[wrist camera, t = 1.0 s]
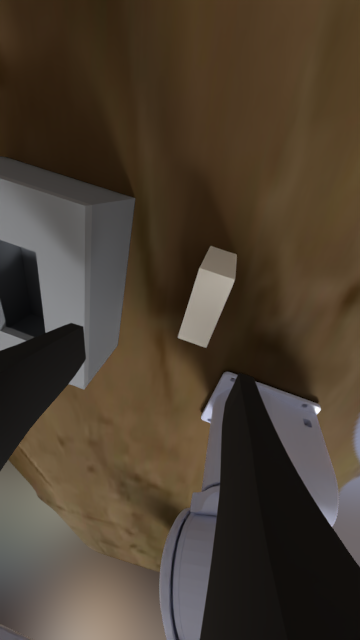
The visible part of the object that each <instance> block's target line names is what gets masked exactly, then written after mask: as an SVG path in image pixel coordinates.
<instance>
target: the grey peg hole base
mask: <svg viewBox="0 0 360 640" xmlns="http://www.w3.org/2000/svg"><path fill="white" fill-rule="evenodd" d="M134 204H135V198H133V197H130V196H127V195H123V194H120V193H117V192H114V191H111V190H108V189H105V188H101V187H98V186H95V185H92V184H89V183H86V182H83V181H80V180H76V179H73V178H70V177H67V176H64V175H61V174H58V173H54V172H51V171H48V170H45V169H42V168H39V167H36V166H33V165H29V164H26V163H23V162H20V161H17V160H14V159H11V158H7V157H0V351H1V350H4V349H6V348H9V347H12V346H14V345H17V344H20V343H22V342H25V341H27V340H30V339H32V338H35V337H37V336H39V335H42V334H44V333H47V332H49V331H52V330H54V329H56V328H59V327H61V326H64V325H67V324H70V323H73V324H77V325H80V326H83V329H84V341H85V353H86V360H85V361H84V363H83V365H82V366H81V368H80V369H79V371H78V372H77V374H76V375H75V376H74V378H73V379H72V380H71V381H70V383H69V384H71V385H74V386H76V387H79V388H82V389H85V388H86V386H87V385H88V384H89V382H90V381H91V380H92V378H93V377H94V376H95V374H96V373H97V372H98V370H99V369H100V368H101V367H102V365H103V364H104V363H105V361H106V360H107V359H108V357H109V356H110V355H111V353H112V352H113V351H114V350H115V348H116V347H117V346H118V339H119V330H120V322H121V313H122V305H123V297H124V288H125V280H126V271H127V263H128V255H129V246H130V238H131V230H132V221H133V213H134Z"/></svg>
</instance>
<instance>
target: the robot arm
mask: <svg viewBox="0 0 360 640" xmlns="http://www.w3.org/2000/svg"><path fill="white" fill-rule="evenodd" d="M85 360H86V353H85V341H84V329H83V326H80V325H77V324H73V323H70V324H67V325H64V326H61V327H59V328H56V329H54V330H52V331H49V332H47V333H44V334H42V335H39V336H37V337H35V338H32V339H30V340H27V341H25V342H22V343H20V344H17V345H14V346H12V347H9V348H6V349H4V350H1V351H0V471H1V469H2V468H3V466H4V465H5V463H6V462H7V460H8V459H9V457H10V456H11V455H12V453H13V452H14V450H15V449H16V447H17V446H18V445H19V443H20V442H21V441H22V439H23V438H24V436H25V435H26V434H27V432H28V431H29V429H30V428H31V427H32V426H33V424H34V423H35V422H36V421H37V419H38V418H39V417H40V416H41V415H42V414H43V413H44V411H45V410H46V409H47V408H48V407H49V406H50V405H51V403H52V402H53V401H54V400H55V399H56V398H57V397H58V395H59V394H60V393H61V392H62V391H63V390H64V388H65V387H66V386H67V385H68V384H69V383H70V381H71V380H72V379H73V378H74V376H75V375H76V374H77V372H78V371H79V369H80V368H81V366H82V365H83V363H84V361H85ZM231 378H234V379H231ZM320 410H321V408H320V405H319V404H317V403H315V402H312V401H309V400H306V399H303V398H301V397H298V396H295V395H292V394H289V393H287V392H284V391H281V390H278V389H276V388H273V387H270V386H267V385H264V384H262V383H259V382H256V381H255V379H254V378H253V377H251V376H248V375H245V374H241V373H239V374H238V375H237V374H234V373H231V372H224V373H223V375H222V377H221V379H220V380H219V382H218V384H217V386H216V388H215V390H214V392H213V394H212V396H211V397H210V399H209V401H208V403H207V405H206V407H205V409H204V411H203V413H202V415H201V419H202V420H204V421H206V422H209V423H211V424H210V432H209V439H208V447H207V454H206V462H205V469H204V477H203V484H202V492H198V493H193V494H192V500H191V507H190V508H186V509H184V510H182V511H181V512H180V513H179V515H178V516H177V518H176V520H175V521H174V523H173V525H172V527H171V529H170V531H169V534H168V536H167V539H166V542H165V546H164V550H163V555H162V561H161V568H160V583H159V584H160V585H159V595H160V606H161V612H162V620H163V624H164V630H165V634H166V639H167V640H360V567H359V566H358V564H357V563H356V562H355V561H354V559H353V558H352V556H351V555H350V553H349V552H348V550H347V549H346V547H345V546H344V544H343V543H342V541H341V540H340V538H339V537H338V535H337V534H336V532H335V531H334V529H333V528H332V526H333V524H334V522H335V520H336V517H337V513H338V505H339V504H338V503H339V494H338V485H337V480H336V476H335V473H334V470H333V466H332V463H331V460H330V457H329V454H328V451H327V447H326V444H325V441H324V438H323V435H322V432H321V428H320V425H319V422H318V419H317V416H316V414H318V413H319V412H320ZM0 640H33V639H31V638H29V637H27V636H24V635H22V634H20V633H18V632H16V631H14V630H12V629H9V628H7V627H5V626H3V625H1V624H0Z"/></svg>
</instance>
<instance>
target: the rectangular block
mask: <svg viewBox="0 0 360 640" xmlns="http://www.w3.org/2000/svg"><path fill="white" fill-rule="evenodd" d="M236 262H237V254H234V253H231V252H228V251H225V250H222V249H219V248H215V247H212V246H210V248H209V250H208V252H207V254H206V256H205V258H204V260H203V262H202V264H201V266H200V268H199V271H198V274H197V277H196V280H195V284H194V287H193V290H192V293H191V296H190V300H189V303H188V306H187V309H186V312H185V315H184V319H183V322H182V325H181V328H180V331H179V335H178V338H179V339H182V340H185V341H188V342H191V343H193V344H196V345H199V346H202V347H205V348H206V347H207V345H208V343H209V340H210V338H211V336H212V333H213V331H214V329H215V326H216V324H217V322H218V319H219V317H220V314H221V312H222V310H223V307H224V305H225V303H226V300H227V298H228V296H229V293H230V291H231V289H232V286H233V284H234V281H235V276H236Z"/></svg>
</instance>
